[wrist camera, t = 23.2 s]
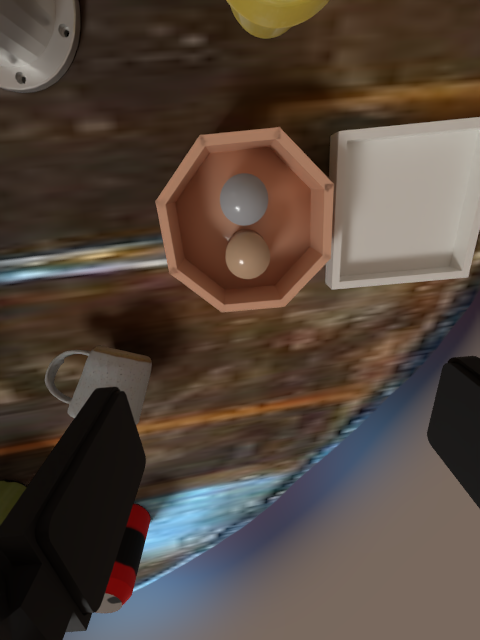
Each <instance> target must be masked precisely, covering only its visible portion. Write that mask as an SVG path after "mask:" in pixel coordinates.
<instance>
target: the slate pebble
mask: <svg viewBox="0 0 480 640" xmlns="http://www.w3.org/2000/svg"><path fill="white" fill-rule="evenodd" d="M220 205H221V209H222V211H223V213H224V215H225V216H226V217H227V218H228V219H229V220H230V221H231V222H233V223H235V224H237V225H242V226H245V225H251V224H253V223H255V222H257V221H258V220H259V219H261V217H262V216H263V215H264V213H265V211H266V209H267V206H268V193H267V189H266V187H265V185H264V184H263V182H262V181H261V180H260V179H259V178H258V177H256V176H254V175H252V174H248V173H241V174H237V175H234V176H233V177H231V178H230V179H229V180H227V182H226V183H225V184H224V186H223V188H222V190H221V194H220Z"/></svg>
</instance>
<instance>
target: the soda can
mask: <svg viewBox="0 0 480 640" xmlns="http://www.w3.org/2000/svg"><path fill="white" fill-rule="evenodd" d="M149 524H150V515H149V513H148V512H147V510H146V509H145V508H143V507H142V506H140V505H137V504H133V507H132V510H131V513H130V516H129V519H128V522H127V526H126V529H125V532H124V535H123V538H122V541H121V544H120V548H119V551H118V554H117V557H116V560H115V563H114V566H113V570H112V573H111V576H110V579H109V582H108V585H107V588H106V592H105V595H104V598H103V601H102V603H101V606H100V608H99V609H98V610H97V613H112V612H115V611H118V610H119V609H120V608H121V607H122V605H123V604H124V603H125V602H126V601H127V600H128V599H129V598H130V597H131V595H132V592H133V588H134V584H135V580H136V576H137V572H138V568H139V564H140V560H141V556H142V552H143V548H144V544H145V540H146V536H147V532H148V528H149Z"/></svg>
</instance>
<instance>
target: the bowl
mask: <svg viewBox="0 0 480 640" xmlns="http://www.w3.org/2000/svg"><path fill="white" fill-rule="evenodd" d="M241 173H248V174H252V175H254V176H256V177H258V178H259V179H260V180H261V181H262V182H263V184H264V185H265V187H266V189H267V193H268V206H267V209H266V211H265V213H264V215H263V216H262V217H261V219H259V220H258V221H257V222H255V223H253V224H251V225H245V226H242V225H237V224H235V223H233V222H231V221H230V220H229V219H228V218H227V217H226V216H225V215H224V213H223V211H222V209H221V205H220V194H221V190H222V188H223V186H224V184H225V183H226V182H227V180H229V179H230V178H231V177H233V176H234V175H237V174H241ZM333 193H334V183H332V182H331V181H330V180H329V178H328V177H327V176H326V175H325V174H324V173H323V172H322V171H321V170H320V169H319V168H318V167H317V166H316V165H315V164H314V163H313V162H312V161H311V160H310V159H309V158H308V156H307V155H306V154H305V153H304V152H303V151H302V150H301V149H300V148H299V147H298V146H297V145H296V144H295V143H294V142H293V141H292V140H291V139H290V138H289V137H288V136H287V134H286V133H285V132H284V131H283V130H282V129H281V128H280V127H276V128H266V129H257V130H247V131H237V132H227V133H217V134H207V135H199V137H198V139H197V140H196V142H195V143H194V145H193V146H192V148H191V149H190V151H189V152H188V154H187V155H186V157H185V158H184V160H183V161H182V163H181V164H180V166H179V167H178V169H177V170H176V172H175V173H174V175H173V176H172V178H171V179H170V181H169V182H168V184H167V185H166V187H165V188H164V190H163V191H162V193H161V194H160V196H159V197H158V199H157V200H156V206H157V211H158V216H159V222H160V227H161V232H162V237H163V242H164V247H165V253H166V258H167V263H168V268H169V273H170V274H171V275H173V276H174V277H175V278H177V279H178V280H179V281H181V282H182V283H183V284H185V285H186V286H187V287H189V288H190V289H191V290H193V291H194V292H195V293H197V294H198V295H199V296H201V297H202V298H203V299H205V300H206V301H207V302H209V303H210V304H211V305H213V306H214V307H215V308H217V309H218V310H219V311H221V312H230V311H241V310H252V309H264V308H275V307H285V306H286V304H287V303H288V302H289V301H290V300H291V299H292V298H293V297H294V296H295V295H296V294H297V293H298V292H299V291H300V290H301V289H302V288H303V287H304V286H305V285H306V284H307V283H308V282H309V280H310V279H311V278H312V277H313V276H314V275H315V274H316V273H317V272H318V271H319V270H320V269H321V268H322V267H323V266H324V265H325V264H326V263H327V262H328V261H329V260H330V259H331V242H332V217H333ZM242 229H251V230H254V231H256V232H258V233H259V234H260V235H261V236H262V237H263V239H264V241H265V242H266V244H267V246H268V248H269V251H270V262H269V265H268V267H267V269H266V270H265V271H264V272H263V273H262V274H261V275H260V276H258V277H256V278H252V279H243V278H240V277H237V276H236V275H234V274H233V273H232V272H231V271H230V270H229V268H228V266H227V263H226V247H227V243H228V240H229V238H230V237H231V236H232V235H233V234H234V233H235V232H237V231H239V230H242Z"/></svg>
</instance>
